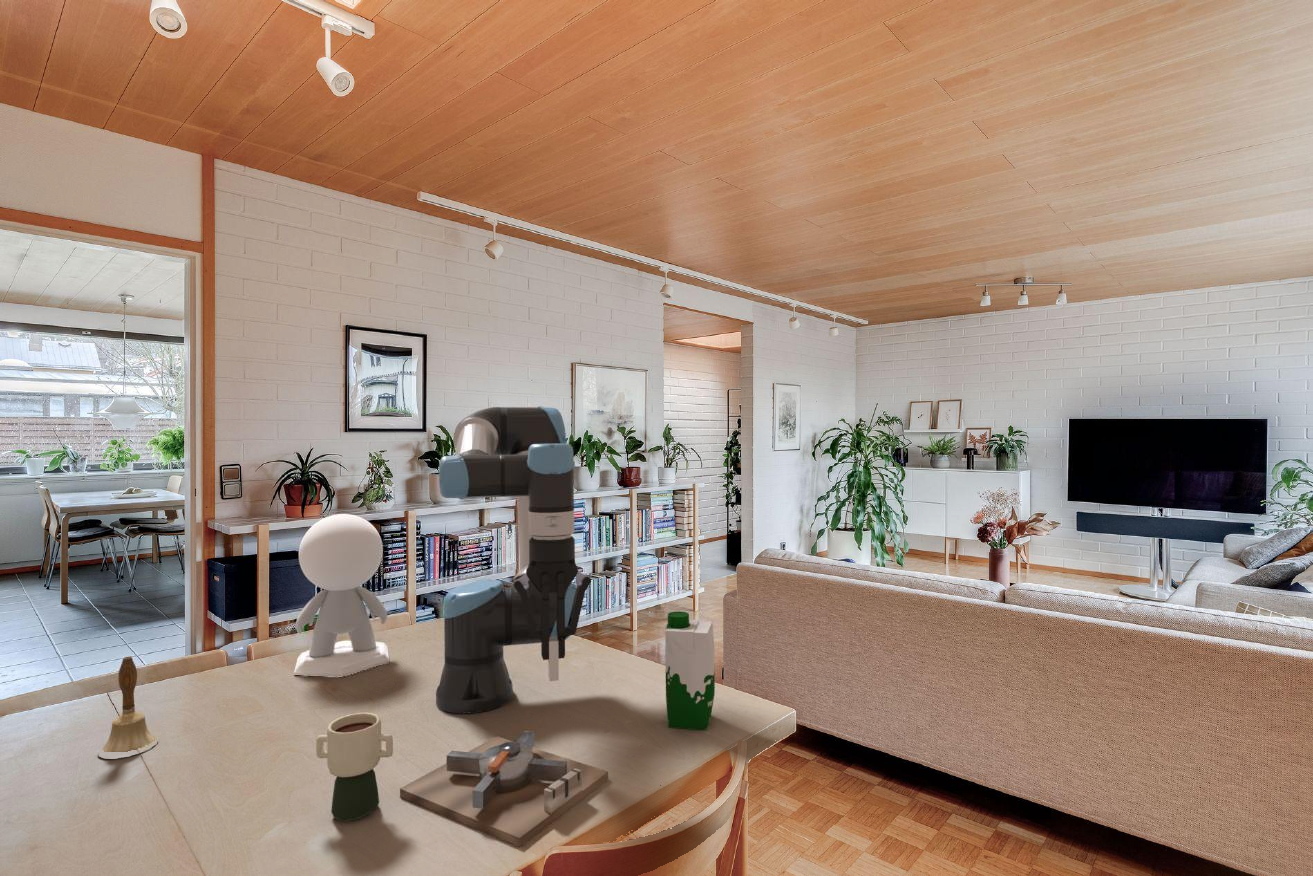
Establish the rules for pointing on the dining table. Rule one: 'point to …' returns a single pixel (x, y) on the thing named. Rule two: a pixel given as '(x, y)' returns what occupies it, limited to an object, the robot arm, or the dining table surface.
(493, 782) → the four-spoke handwheel
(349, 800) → the character mug
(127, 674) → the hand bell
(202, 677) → the dining table surface
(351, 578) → the big headed doll
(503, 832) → the wooden mounting board
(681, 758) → the dining table surface
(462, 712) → the robot arm
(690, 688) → the milk carton
